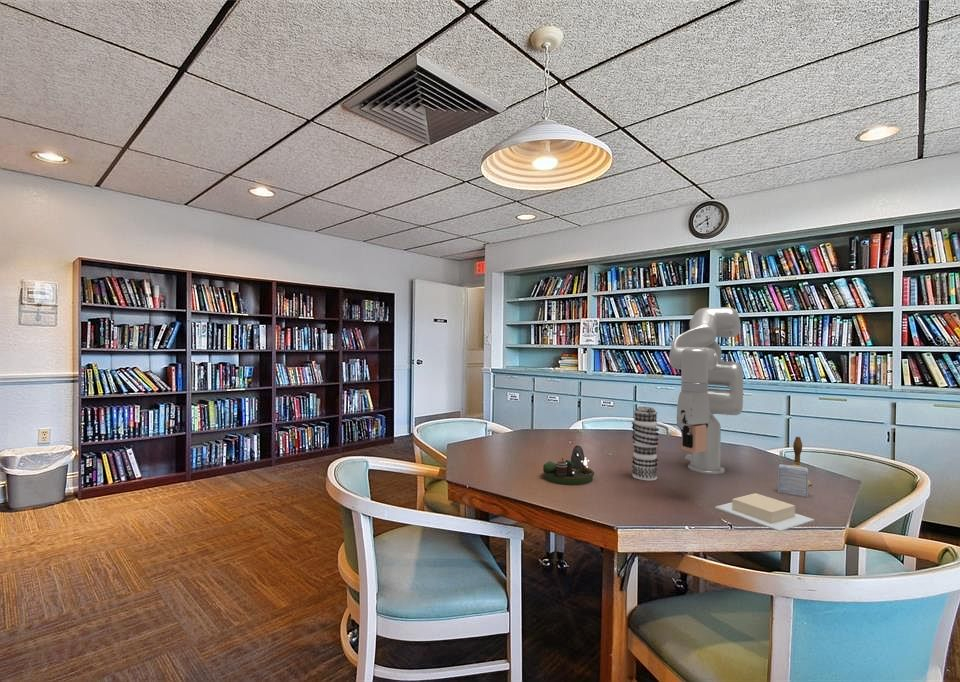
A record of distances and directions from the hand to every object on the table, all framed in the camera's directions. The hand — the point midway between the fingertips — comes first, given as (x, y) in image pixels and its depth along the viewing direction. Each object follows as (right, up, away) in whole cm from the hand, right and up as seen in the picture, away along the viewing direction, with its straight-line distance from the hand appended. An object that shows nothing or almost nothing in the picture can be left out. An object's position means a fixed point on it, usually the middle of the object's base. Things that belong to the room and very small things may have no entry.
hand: (693, 445), depth 140 cm
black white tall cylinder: (-7, -17, +22) cm, 28 cm away
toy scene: (-35, -17, +20) cm, 44 cm away
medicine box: (+35, -17, +6) cm, 39 cm away
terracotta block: (0, -2, 0) cm, 2 cm away
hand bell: (+45, -17, +17) cm, 51 cm away
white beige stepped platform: (+13, -17, -13) cm, 25 cm away
